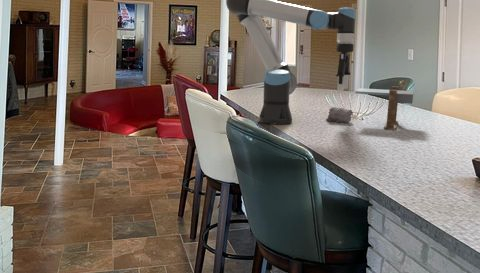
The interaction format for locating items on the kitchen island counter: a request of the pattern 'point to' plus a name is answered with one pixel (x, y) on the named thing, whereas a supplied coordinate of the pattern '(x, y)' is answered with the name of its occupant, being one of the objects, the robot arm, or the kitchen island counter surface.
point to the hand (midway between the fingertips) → (342, 90)
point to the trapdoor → (401, 95)
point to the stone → (339, 115)
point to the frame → (392, 110)
